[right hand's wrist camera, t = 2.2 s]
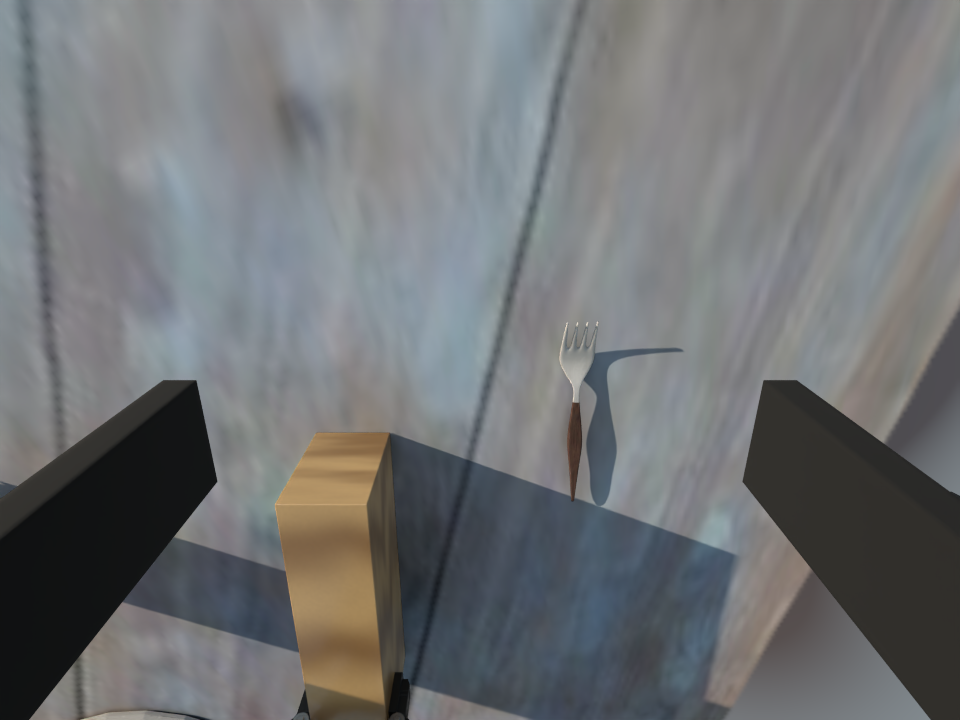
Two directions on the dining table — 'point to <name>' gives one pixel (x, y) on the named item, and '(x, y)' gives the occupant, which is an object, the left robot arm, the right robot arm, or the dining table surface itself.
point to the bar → (344, 574)
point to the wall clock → (139, 716)
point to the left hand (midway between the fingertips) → (361, 679)
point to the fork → (576, 393)
